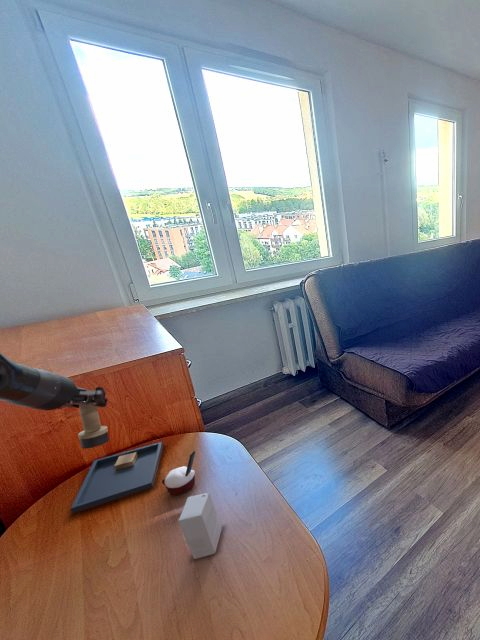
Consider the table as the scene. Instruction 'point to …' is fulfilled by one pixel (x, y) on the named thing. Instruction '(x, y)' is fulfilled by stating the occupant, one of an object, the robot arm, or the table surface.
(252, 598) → the table surface
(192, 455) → the cocoa
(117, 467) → the cork chip
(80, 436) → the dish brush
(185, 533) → the cosmetic box
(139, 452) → the tray
